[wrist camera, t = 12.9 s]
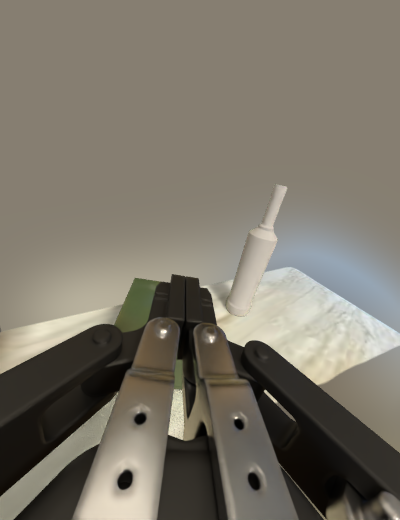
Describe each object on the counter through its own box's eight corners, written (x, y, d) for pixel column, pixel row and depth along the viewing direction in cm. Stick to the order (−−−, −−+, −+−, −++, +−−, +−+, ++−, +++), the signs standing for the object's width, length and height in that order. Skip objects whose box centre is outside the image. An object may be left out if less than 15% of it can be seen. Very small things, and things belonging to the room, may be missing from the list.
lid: (134, 281, 31) (134, 277, 31) (206, 292, 33) (207, 288, 32) (110, 337, 21) (110, 331, 21) (215, 348, 23) (217, 343, 22)
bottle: (253, 315, 43) (304, 191, 32) (234, 319, 40) (282, 186, 30) (238, 299, 47) (279, 185, 36) (220, 302, 44) (258, 180, 34)
